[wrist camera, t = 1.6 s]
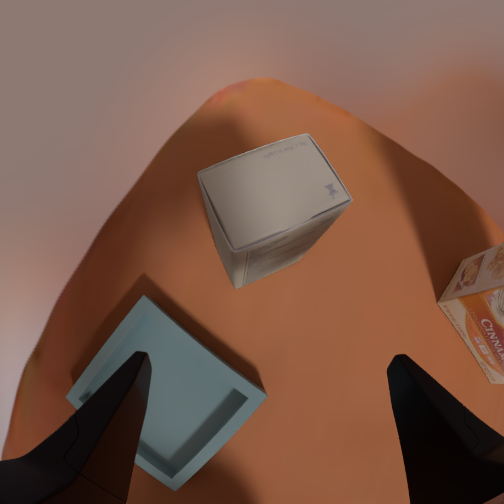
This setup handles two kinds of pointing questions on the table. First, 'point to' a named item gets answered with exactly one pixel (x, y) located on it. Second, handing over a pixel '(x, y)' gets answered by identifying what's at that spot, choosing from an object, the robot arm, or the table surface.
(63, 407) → the table surface
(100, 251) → the table surface
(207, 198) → the skincare box
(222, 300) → the table surface
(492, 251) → the coffeecake box
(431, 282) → the table surface
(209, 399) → the tray
